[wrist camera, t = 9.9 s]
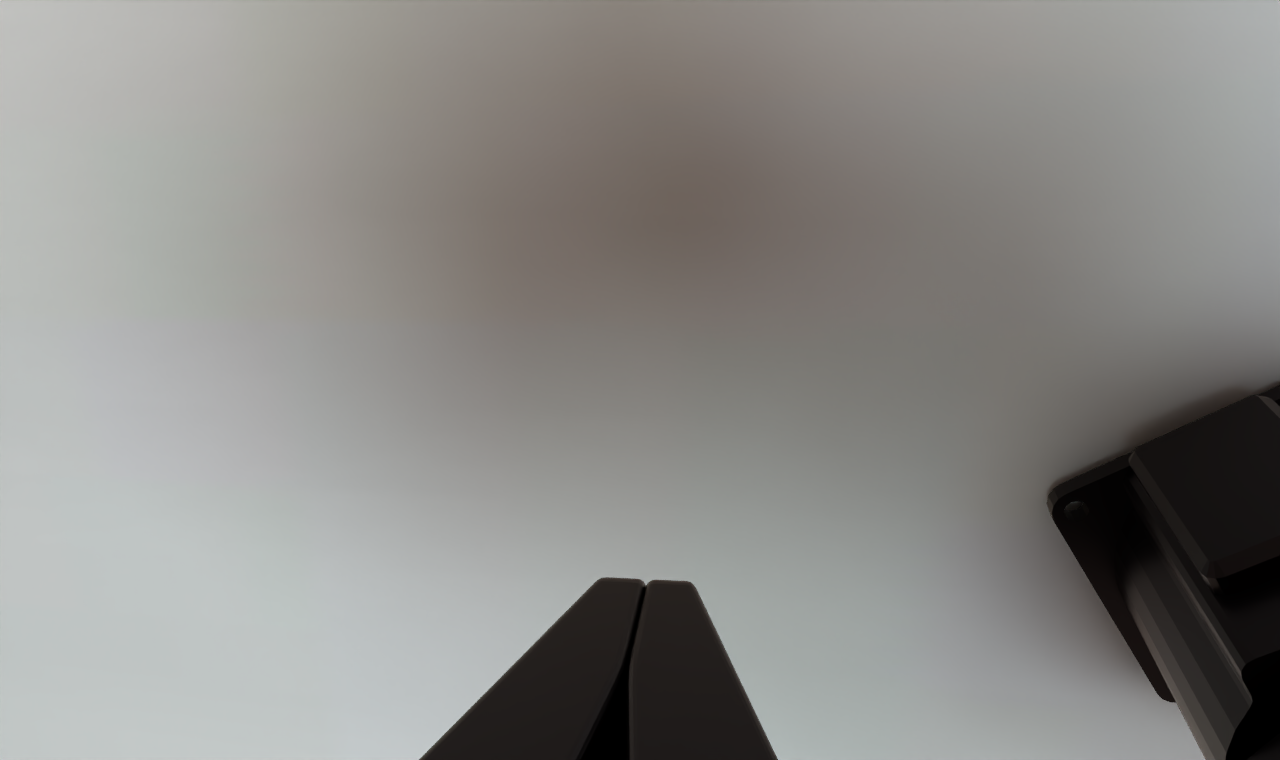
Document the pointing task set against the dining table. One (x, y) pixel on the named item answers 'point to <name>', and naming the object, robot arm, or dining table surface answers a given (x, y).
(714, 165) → the dining table surface
